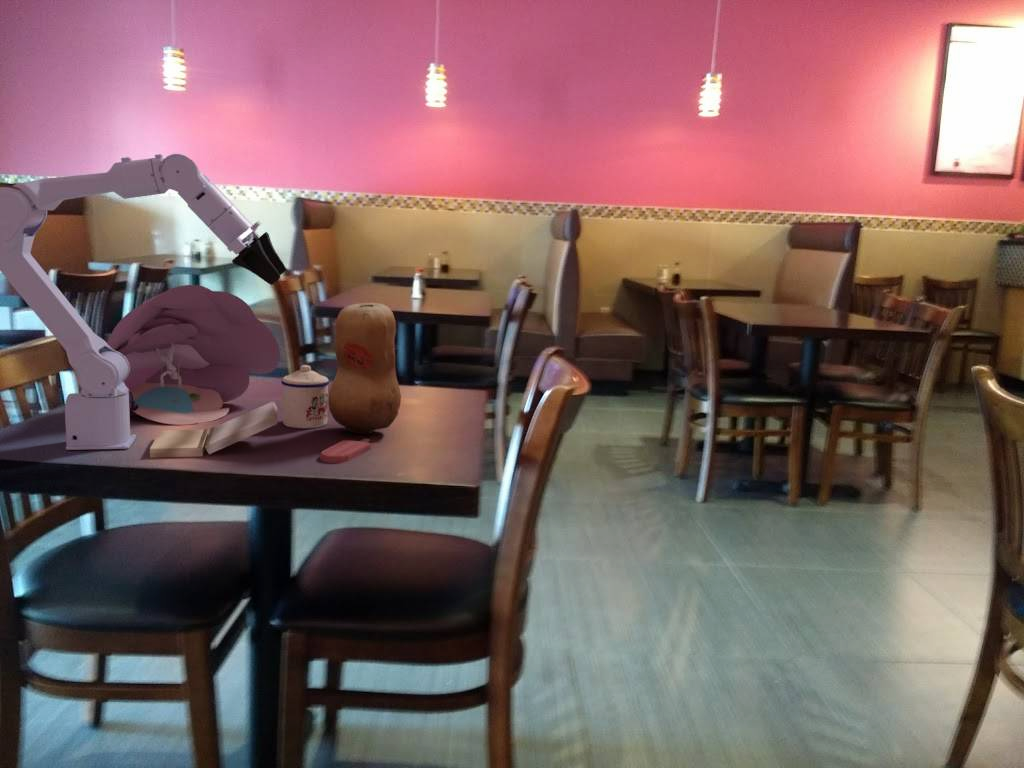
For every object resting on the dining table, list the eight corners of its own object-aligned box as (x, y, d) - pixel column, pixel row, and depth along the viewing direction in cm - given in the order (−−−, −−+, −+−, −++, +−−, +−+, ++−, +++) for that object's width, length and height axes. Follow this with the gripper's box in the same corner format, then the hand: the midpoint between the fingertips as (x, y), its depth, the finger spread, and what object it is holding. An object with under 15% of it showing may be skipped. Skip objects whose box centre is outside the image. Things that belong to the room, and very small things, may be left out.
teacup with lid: (312, 431, 150) (312, 371, 147) (271, 425, 152) (271, 366, 150) (344, 419, 161) (345, 363, 159) (306, 413, 164) (306, 358, 161)
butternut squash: (316, 437, 145) (318, 303, 141) (342, 421, 158) (344, 298, 154) (388, 444, 144) (392, 308, 139) (408, 427, 157) (412, 303, 152)
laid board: (150, 457, 127) (149, 448, 127) (160, 438, 139) (160, 429, 138) (202, 456, 130) (202, 447, 129) (208, 437, 141) (208, 429, 141)
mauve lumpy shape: (146, 463, 141) (152, 314, 131) (55, 419, 148) (54, 276, 139) (277, 410, 171) (290, 286, 162) (196, 376, 179) (203, 256, 169)
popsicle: (381, 437, 144) (342, 457, 130) (381, 445, 144) (342, 466, 130) (354, 433, 145) (313, 453, 131) (354, 442, 145) (313, 462, 131)
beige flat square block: (209, 454, 130) (204, 446, 130) (214, 436, 141) (210, 428, 141) (277, 423, 132) (273, 415, 132) (277, 408, 143) (273, 400, 143)
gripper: (230, 204, 124) (291, 269, 129) (246, 197, 138) (301, 256, 142) (197, 233, 125) (259, 296, 129) (217, 223, 139) (272, 281, 143)
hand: (279, 277), depth 136 cm, fingers open, 7 cm apart
